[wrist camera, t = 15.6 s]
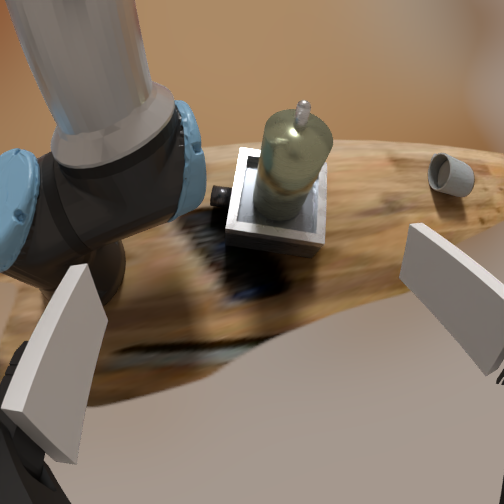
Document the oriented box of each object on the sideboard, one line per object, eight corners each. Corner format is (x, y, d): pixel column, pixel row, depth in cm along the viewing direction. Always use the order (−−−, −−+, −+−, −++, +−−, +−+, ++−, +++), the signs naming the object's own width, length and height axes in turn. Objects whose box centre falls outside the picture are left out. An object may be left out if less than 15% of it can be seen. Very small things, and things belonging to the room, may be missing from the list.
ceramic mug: (460, 204, 51) (482, 187, 44) (431, 197, 51) (453, 177, 44) (449, 162, 55) (467, 143, 47) (421, 154, 54) (439, 132, 47)
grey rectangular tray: (205, 242, 44) (202, 224, 38) (220, 168, 48) (219, 144, 42) (311, 258, 45) (324, 243, 39) (315, 184, 49) (327, 162, 43)
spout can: (301, 224, 41) (341, 153, 25) (249, 216, 41) (263, 138, 25) (304, 180, 43) (338, 101, 27) (256, 172, 43) (271, 87, 27)
